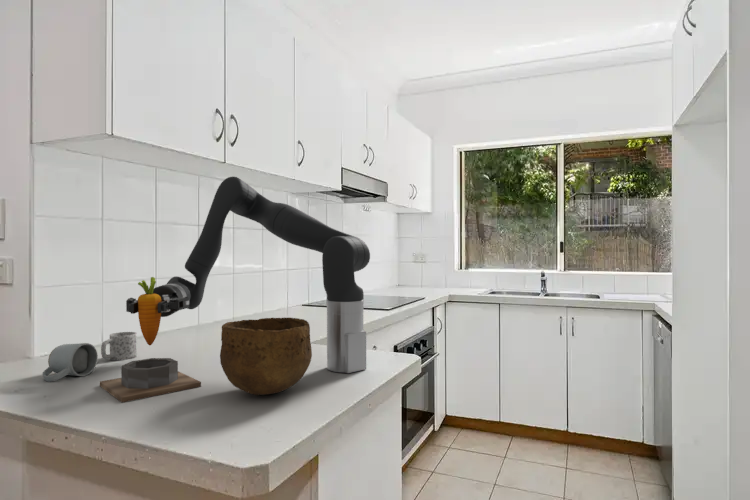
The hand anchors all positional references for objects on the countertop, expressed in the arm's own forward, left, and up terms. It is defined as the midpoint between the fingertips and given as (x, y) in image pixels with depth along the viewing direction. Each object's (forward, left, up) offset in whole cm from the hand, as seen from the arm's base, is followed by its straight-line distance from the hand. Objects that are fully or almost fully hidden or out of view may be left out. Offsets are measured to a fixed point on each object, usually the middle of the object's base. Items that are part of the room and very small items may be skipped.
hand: (146, 308), depth 104 cm
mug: (+36, -5, -18) cm, 40 cm away
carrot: (+2, -2, -9) cm, 9 cm away
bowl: (-20, -17, -18) cm, 32 cm away
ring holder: (+2, -1, -17) cm, 18 cm away
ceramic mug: (+25, +9, -18) cm, 32 cm away
